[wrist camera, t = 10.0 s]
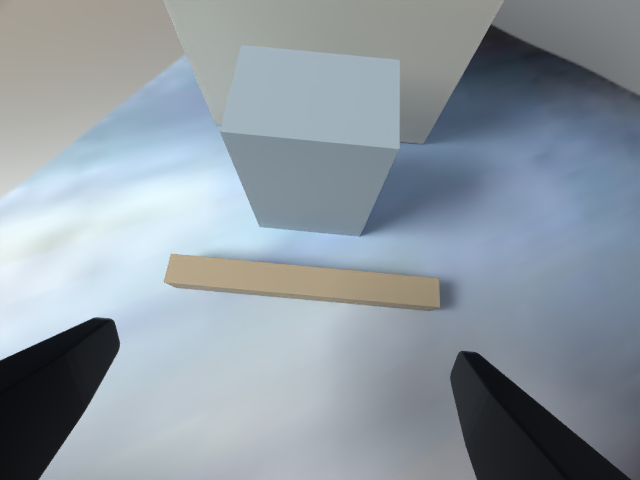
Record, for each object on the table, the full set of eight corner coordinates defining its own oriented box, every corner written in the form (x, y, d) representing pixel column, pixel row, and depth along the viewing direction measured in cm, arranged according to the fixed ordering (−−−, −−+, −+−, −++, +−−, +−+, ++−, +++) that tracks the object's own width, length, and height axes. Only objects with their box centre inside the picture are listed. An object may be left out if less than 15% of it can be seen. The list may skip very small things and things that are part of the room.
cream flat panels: (429, 310, 17) (583, 263, 7) (176, 287, 17) (2, 210, 7) (422, 126, 21) (515, -56, 11) (220, 107, 21) (146, -90, 11)
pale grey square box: (359, 236, 18) (399, 149, 10) (259, 227, 18) (219, 131, 10) (363, 167, 20) (399, 44, 12) (271, 158, 20) (244, 29, 12)
